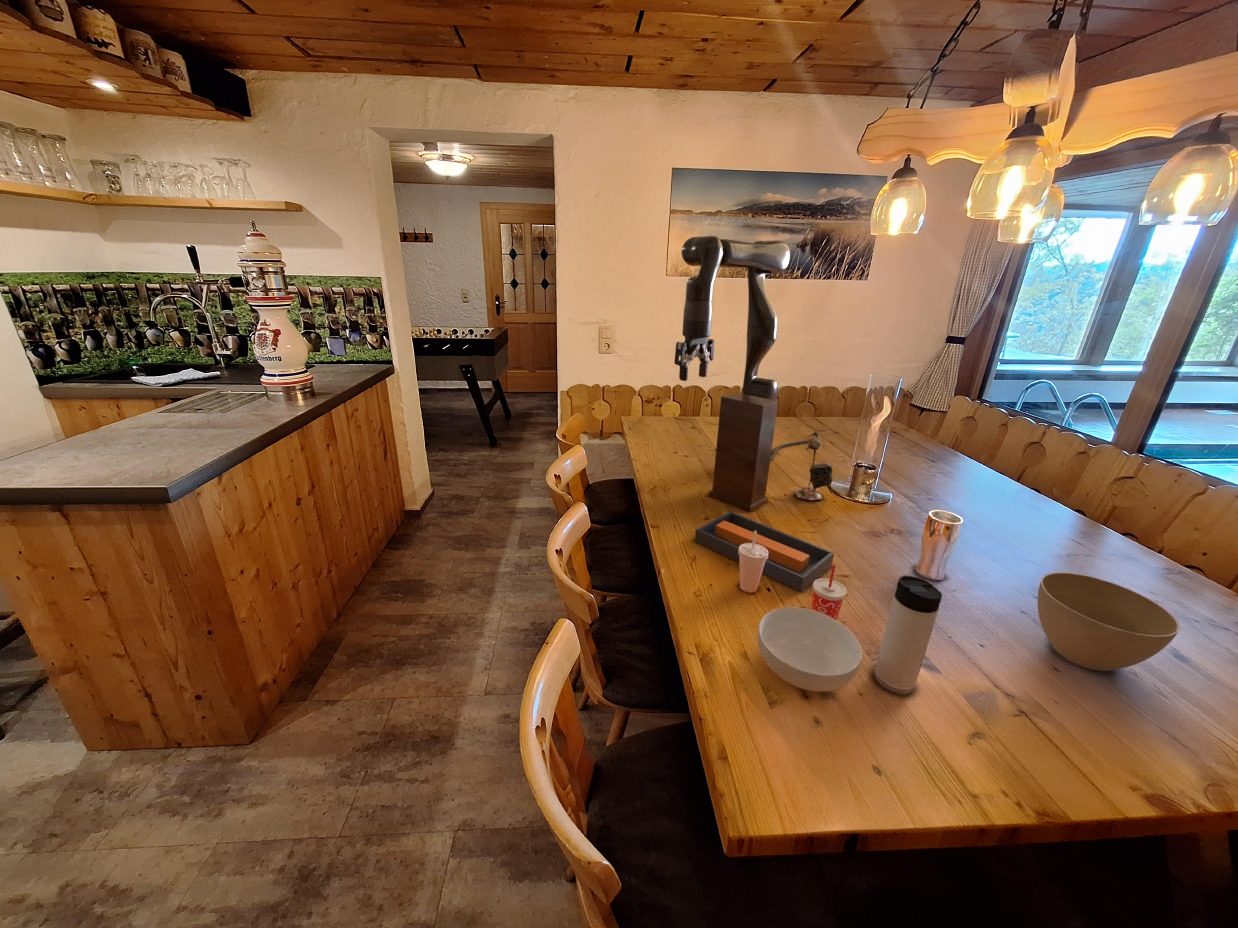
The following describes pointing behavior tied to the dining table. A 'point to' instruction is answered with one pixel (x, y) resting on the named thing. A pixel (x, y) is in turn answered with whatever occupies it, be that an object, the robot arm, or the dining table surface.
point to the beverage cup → (828, 596)
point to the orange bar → (764, 545)
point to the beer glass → (938, 543)
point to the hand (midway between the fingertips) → (693, 378)
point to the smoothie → (751, 564)
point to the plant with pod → (816, 476)
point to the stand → (743, 450)
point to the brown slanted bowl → (1101, 622)
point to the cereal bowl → (808, 648)
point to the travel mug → (907, 634)
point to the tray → (797, 580)
